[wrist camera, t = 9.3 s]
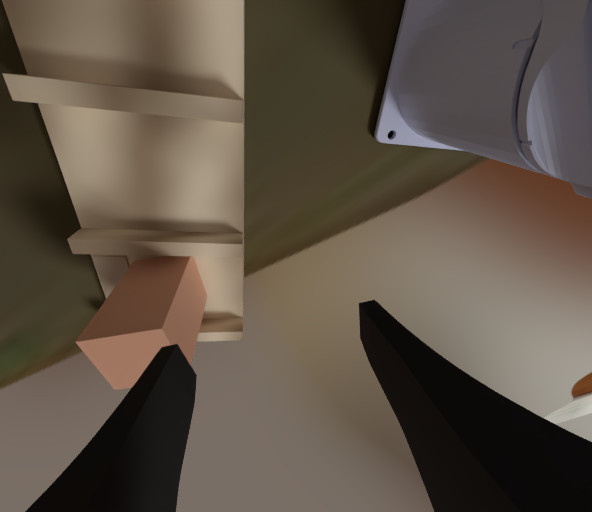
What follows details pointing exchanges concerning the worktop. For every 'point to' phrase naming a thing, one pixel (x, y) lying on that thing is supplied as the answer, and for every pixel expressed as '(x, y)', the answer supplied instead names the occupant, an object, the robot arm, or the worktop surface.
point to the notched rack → (146, 133)
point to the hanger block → (146, 318)
